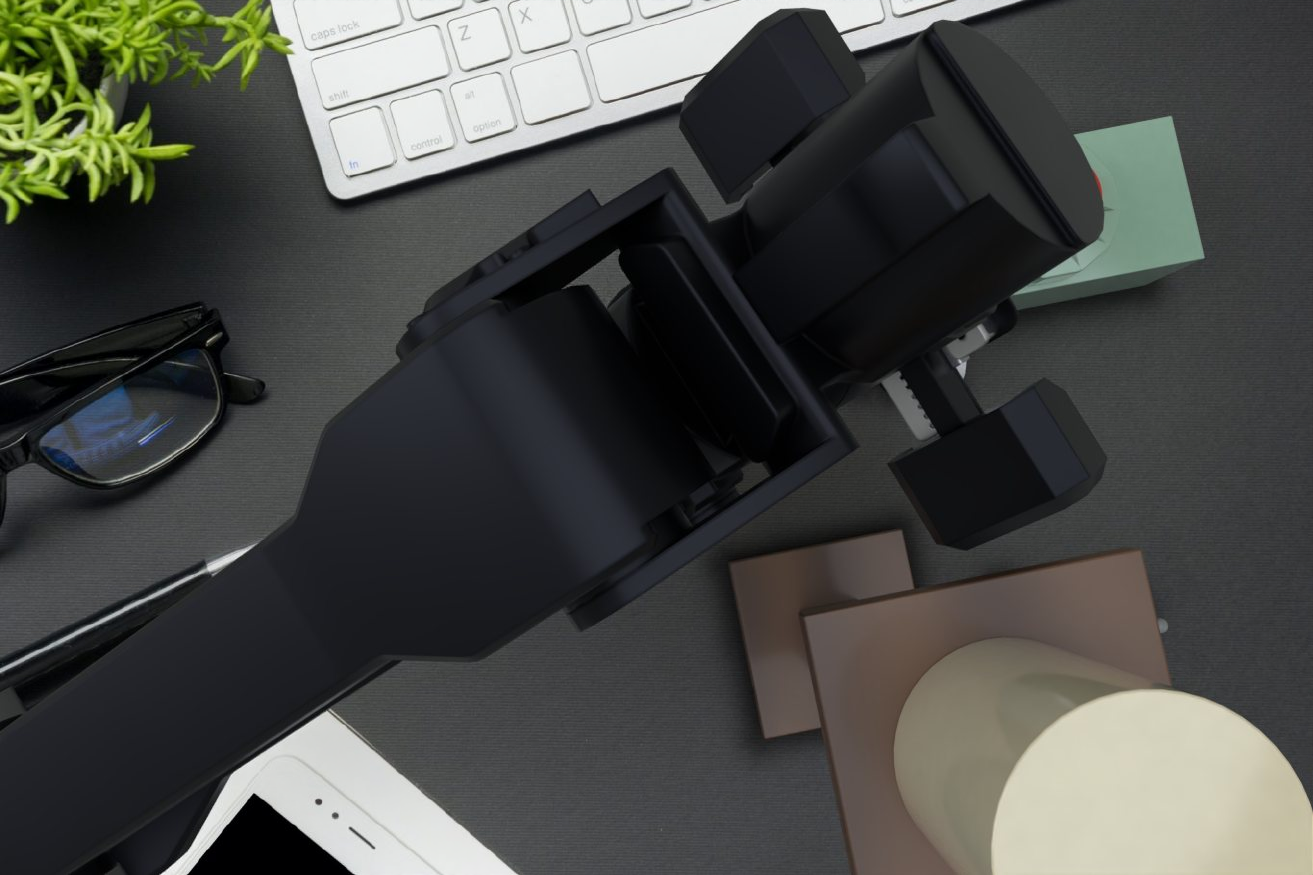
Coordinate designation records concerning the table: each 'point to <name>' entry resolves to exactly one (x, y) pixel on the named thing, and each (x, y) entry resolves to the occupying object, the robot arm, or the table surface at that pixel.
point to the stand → (911, 656)
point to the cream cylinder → (1090, 772)
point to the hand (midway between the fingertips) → (974, 240)
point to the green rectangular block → (1128, 217)
